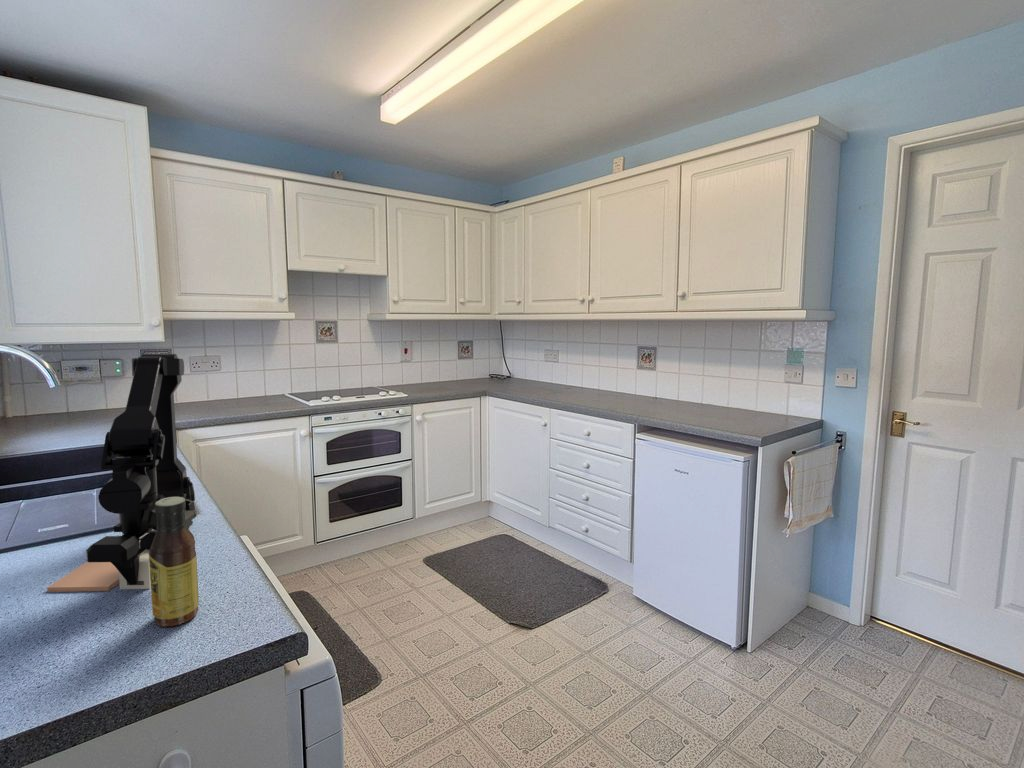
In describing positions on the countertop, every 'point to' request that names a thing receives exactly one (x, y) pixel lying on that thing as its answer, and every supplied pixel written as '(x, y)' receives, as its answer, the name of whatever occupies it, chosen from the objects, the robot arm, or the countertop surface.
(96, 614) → the countertop surface
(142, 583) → the cream letter cube
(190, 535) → the sauce bottle
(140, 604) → the countertop surface
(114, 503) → the robot arm
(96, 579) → the terracotta tile
